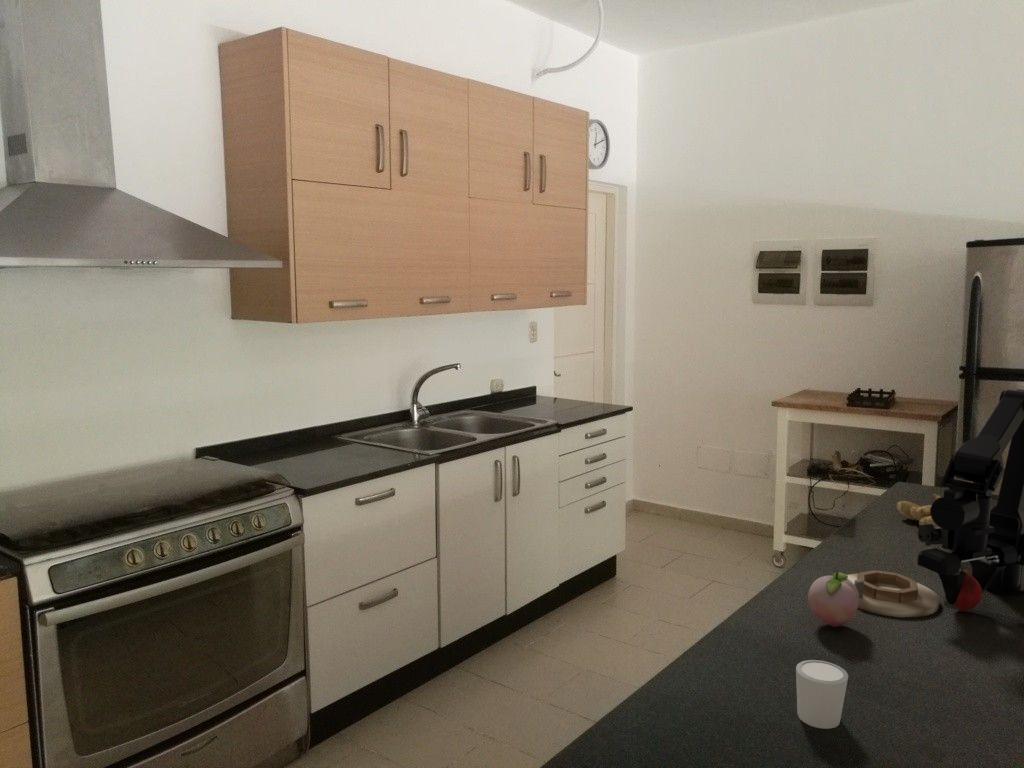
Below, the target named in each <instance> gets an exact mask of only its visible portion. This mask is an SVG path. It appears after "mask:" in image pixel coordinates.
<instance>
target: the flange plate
mask: <svg viewBox="0 0 1024 768" xmlns="http://www.w3.org/2000/svg"><path fill="white" fill-rule="evenodd" d="M846 575H847V576H848V578H847V579H848V580H850V581H851V582H852V583H853V584H854V585H855V586H856V588H857V590H858V592H859V603H858V608H857V609H859V610H862V611H865V612H868V613H872V614H877V615H880V614H881V616H887V617H892V616H893V618H905V617H914V618H922V617H928V616H931V615H933V614H935V613H936V612H937V611H938V610H939V607H940V597H939V596H938V594H937V593H935V591H934V590H932V589H931V588H928V587H927V586H925V585H923V584H921V583H919V582H918V581H916V580H915V579H912V578H910V577H907V576H905V575H903V574H900V573H898V572H892V571H886V570H885V571H884V570H874V569H873V570H867V571H861V572H858V573H851V574H846ZM934 612H935V613H934ZM930 614H931V615H930ZM927 615H928V616H927ZM921 616H922V617H921Z"/></svg>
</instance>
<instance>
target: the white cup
mask: <svg viewBox="0 0 1024 768" xmlns="http://www.w3.org/2000/svg"><path fill="white" fill-rule="evenodd" d="M795 680H796V681H795V684H796V707H797V708H796V710H797V711H796V712H797V717H798V718H799V720H801V722H803V723H804V724H806V725H808V726H810V727H813V728H817V729H823V730H824V729H826V730H828V729H829V730H830V729H833V728H835V729H836V728H837V727H838V726H839V725H840V724H841V718H842V712H843V709H844V702H845V697H846V692H847V691H846V690H847V685H848V680H849V673H847V670H846V669H844V668H842V667H841V666H839V665H838V664H835V663H832V662H830V661H825V660H816V659H808V660H802V661H800V662H799V663H797V665H796V667H795Z"/></svg>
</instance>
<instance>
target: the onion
mask: <svg viewBox="0 0 1024 768" xmlns="http://www.w3.org/2000/svg"><path fill="white" fill-rule="evenodd" d="M962 572H965V573H967V574H966V577H965V579H964V582H963V584H962V587H961V590H960V592H959V595H958V597H957V599H956V601H955V603H954V604H953V605H952V606H953V607H954V608H956V609H957V610H958V611H959V612H963V613H964V612H967V611H969V610H973V609H974V608H975V607H977V606H978V605H979V604H980V603H981V601H982V598H983V594H982V588H981V586H980V584H979V583H978V581H977V580H976V579H975V578H973V577H972V574H970V571H969V569H967V568H963V569H962Z"/></svg>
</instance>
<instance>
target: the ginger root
mask: <svg viewBox="0 0 1024 768" xmlns="http://www.w3.org/2000/svg"><path fill="white" fill-rule="evenodd" d="M933 497H934V498H935V499H934V500H937V499H938V498H941V497H942V496H941V495H938V494H937V493H934V494H933ZM931 506H932V504H928V505H923V506H922V505H918V504H916V503H914V502H911V501H909V500H902V501H901V500H900V501H898V502H897V503H896V509H897V511H898V512H899V514H901V515H903V516H905V517H907V518H910V519H913V520H916V521H917V520H918V521H919V522H918V524H919V525H923V524H933V526H934V527H939V526H938V525H936V524H935V522H934V521H933V519H932V517H931V514H930V508H931Z"/></svg>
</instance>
